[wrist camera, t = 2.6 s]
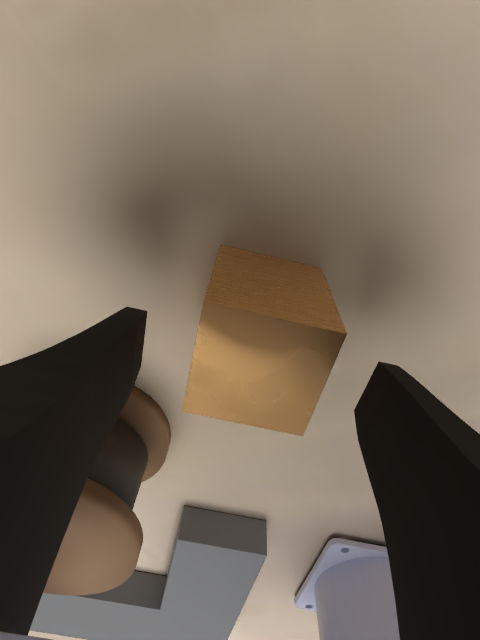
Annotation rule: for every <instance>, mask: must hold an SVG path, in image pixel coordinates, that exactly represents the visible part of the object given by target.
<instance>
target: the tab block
mask: <svg viewBox="0 0 480 640" xmlns="http://www.w3.org/2000/svg"><path fill="white" fill-rule="evenodd" d="M346 335H347V333H346V330H345V328H344V325H343V323H342V320H341V318H340V315H339V313H338V310H337V307H336V305H335V302H334V300H333V297H332V295H331V292H330V290H329V287H328V285H327V282H326V280H325V277H324V275H323V272H322V270H321V268H317V267H313V266H309V265H304V264H300V263H296V262H292V261H287V260H283V259H279V258H275V257H270V256H266V255H262V254H258V253H253V252H249V251H245V250H240V249H236V248H232V247H228V246H223V245H221V246H220V249H219V253H218V256H217V259H216V263H215V266H214V269H213V273H212V276H211V279H210V282H209V286H208V289H207V292H206V296H205V299H204V303H203V308H202V313H201V318H200V323H199V328H198V333H197V338H196V343H195V348H194V353H193V358H192V363H191V368H190V373H189V378H188V383H187V388H186V393H185V398H184V403H183V408H182V412H187V413H192V414H197V415H202V416H207V417H211V418H216V419H221V420H226V421H231V422H236V423H241V424H246V425H251V426H256V427H261V428H266V429H271V430H276V431H281V432H285V433H290V434H295V435H300V436H303V434H304V432H305V430H306V428H307V425H308V423H309V421H310V418H311V416H312V414H313V411H314V409H315V407H316V404H317V402H318V400H319V397H320V395H321V393H322V390H323V388H324V386H325V383H326V381H327V379H328V376H329V374H330V372H331V370H332V367H333V365H334V363H335V360H336V358H337V356H338V353H339V351H340V349H341V346H342V344H343V342H344V339H345V337H346Z"/></svg>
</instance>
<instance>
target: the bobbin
mask: <svg viewBox="0 0 480 640" xmlns="http://www.w3.org/2000/svg"><path fill="white" fill-rule="evenodd" d="M170 437H171V434H170V427H169V423H168V421H167V419H166V416H165V415H164V413H163V411H162V410H161V409H160V407H159V406H158V405H157V404H156V403H155V402H154V401H153V400H152V399H151V398H150V397H149V396H148V395H146V394H145V393H144V392H142V391H141V390H139V389H138V388H136V387H134V386H133V389H132V391H131V394H130V396H129V398H128V400H127V402H126V404H125V405H124V407H123V409H122V411H121V413H120V415H119V417H118V419H117V421H116V422H115V424H114V426H113V428H112V430H111V432H110V434H109V436H108V437H107V439H106V441H105V443H104V445H103V447H102V449H101V450H100V452H99V454H98V456H97V458H96V460H95V462H94V465H93V467H92V469H91V471H90V473H89V476H88V478H87V481H86V483H85V486H84V488H83V490H82V493H81V495H80V498H79V500H78V503H77V505H76V508H75V510H74V513H73V515H72V518H71V520H70V523H69V525H68V528H67V531H66V533H65V536H64V538H63V541H62V543H61V546H60V549H59V551H58V554H57V557H56V559H55V562H54V565H53V567H52V570H51V572H50V575H49V578H48V580H47V583H46V586H45V588H44V591H43V593H48V594H56V595H90V594H96V593H101V592H105V591H108V590H111V589H113V588H115V587H117V586H119V585H121V584H122V583H124V582H125V581H126V580H128V578H129V577H130V576H131V575H132V574H133V572H134V570H135V568H136V564H137V561H138V557H139V553H140V550H141V546H142V542H143V532H142V527H141V525H140V522H139V520H138V518H137V517H136V515H135V513H134V512H133V511H132V509H133V506H134V503H135V500H136V497H137V494H138V491H139V488H140V485H141V482H143V481H145V480H147V479H149V478H150V477H152V476H153V475H154V474H155V473H157V472H158V471H159V469H160V468H161V467H162V465H163V463H164V461H165V458H166V455H167V451H168V448H169V444H170Z"/></svg>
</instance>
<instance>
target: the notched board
mask: <svg viewBox="0 0 480 640" xmlns="http://www.w3.org/2000/svg"><path fill="white" fill-rule="evenodd" d="M266 556H267V535H266V521H263V520H258V519H253V518H247V517H242V516H236V515H231V514H226V513H220V512H215V511H209V510H204V509H199V508H193V507H188V506H184V508H183V512H182V516H181V520H180V524H179V528H178V533H177V537H176V541H175V545H174V549H173V553H172V557H171V561H170V565H169V569H168V574H167V576H162V575H156V574H150V573H145V572H139V571H134V572H133V574H132V575H131V576H130V577H129V578H128V580H126V581H125V582H124V583H122V584H121V585H119V586H117V587H115V588H113V589H111V590H108V591H105V592H101V593H96V594H90V595H56V594H48V593H43V594H42V597H41V600H40V602H39V605H38V608H37V611H36V613H35V616H34V619H33V622H32V624H31V627H30V630H31V631H37V632H43V633H50V634H56V635H62V636H68V637H75V638H81V639H87V640H228V638H229V635H230V633H231V631H232V629H233V627H234V625H235V623H236V620H237V618H238V616H239V614H240V612H241V610H242V608H243V606H244V603H245V601H246V599H247V597H248V595H249V593H250V591H251V588H252V586H253V584H254V582H255V580H256V578H257V576H258V573H259V571H260V569H261V567H262V565H263V563H264V561H265V558H266Z"/></svg>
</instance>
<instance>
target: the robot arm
mask: <svg viewBox="0 0 480 640" xmlns="http://www.w3.org/2000/svg"><path fill="white" fill-rule="evenodd" d="M146 318H147V311H144V310H140V309H135V308H130V307H125V308H124V309H122V310H120V311H118V312H117V313H115V314H113V315H111V316H110V317H108V318H106V319H104V320H103V321H101V322H99V323H97V324H96V325H94V326H92V327H90V328H88V329H87V330H85V331H83V332H81V333H79V334H77V335H75V336H73V337H71V338H69V339H67V340H65V341H63V342H60V343H58V344H56V345H54V346H52V347H50V348H48V349H45V350H43V351H41V352H38V353H36V354H33V355H30V356H28V357H25V358H22V359H20V360H17V361H14V362H11V363H8V364H5V365H2V366H0V640H52V639H45V638H39V637H32V636H28V633H29V630H30V627H31V624H32V622H33V619H34V616H35V613H36V611H37V608H38V605H39V602H40V600H41V597H42V594H43V591H44V588H45V586H46V583H47V580H48V578H49V575H50V572H51V570H52V567H53V565H54V562H55V559H56V557H57V554H58V551H59V549H60V546H61V543H62V541H63V538H64V536H65V533H66V531H67V528H68V525H69V523H70V520H71V518H72V515H73V513H74V510H75V508H76V505H77V503H78V500H79V498H80V495H81V493H82V490H83V488H84V486H85V483H86V481H87V478H88V476H89V473H90V471H91V469H92V467H93V465H94V462H95V460H96V458H97V456H98V454H99V452H100V450H101V449H102V447H103V445H104V443H105V441H106V439H107V437H108V436H109V434H110V432H111V430H112V428H113V426H114V424H115V422H116V421H117V419H118V417H119V415H120V413H121V411H122V409H123V407H124V405H125V404H126V402H127V400H128V398H129V396H130V394H131V391H132V389H133V386H134V384H135V381H136V378H137V375H138V373H139V370H140V367H141V361H142V353H143V344H144V335H145V327H146ZM354 413H355V421H356V429H357V435H358V441H359V444H360V448H361V451H362V455H363V458H364V462H365V465H366V469H367V472H368V476H369V479H370V482H371V486H372V489H373V492H374V496H375V499H376V502H377V506H378V509H379V513H380V517H381V521H382V526H383V531H384V536H385V542H386V547H384V546H378V545H373V544H368V543H362V542H357V541H351V540H346V539H340V538H333V539H330V540H329V541H328V543H327V545H326V546H325V548H324V550H323V551H322V553H321V555H320V556H319V558H318V560H317V562H316V563H315V565H314V567H313V568H312V570H311V572H310V573H309V575H308V577H307V578H306V580H305V582H304V583H303V585H302V587H301V589H300V590H299V592H298V594H297V595H296V597H295V599H294V602H295V606H296V607H297V608H300V609H306V610H311V611H317V619H318V628H319V637H320V640H480V434H479V433H477V432H476V431H475V430H474V429H472V428H471V427H470V426H469V425H467V424H466V423H465V422H464V421H463V420H461V419H460V418H459V417H458V416H457V415H456V414H454V413H453V412H452V411H451V410H450V409H449V408H447V407H446V406H445V405H444V404H443V403H442V402H441V401H439V400H438V399H437V398H436V397H435V396H434V395H433V394H431V393H430V392H429V391H428V390H427V389H426V388H425V387H424V386H422V385H421V384H420V383H419V382H418V381H417V380H415V379H414V378H413V377H412V376H411V375H409V374H408V373H407V372H406V371H404V370H403V369H402V368H400V367H399V366H397V365H392V364H388V363H383V362H378V364H377V366H376V368H375V370H374V372H373V374H372V376H371V378H370V380H369V382H368V384H367V386H366V388H365V390H364V392H363V394H362V396H361V398H360V400H359V402H358V404H357V406H356V408H355V410H354Z"/></svg>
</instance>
